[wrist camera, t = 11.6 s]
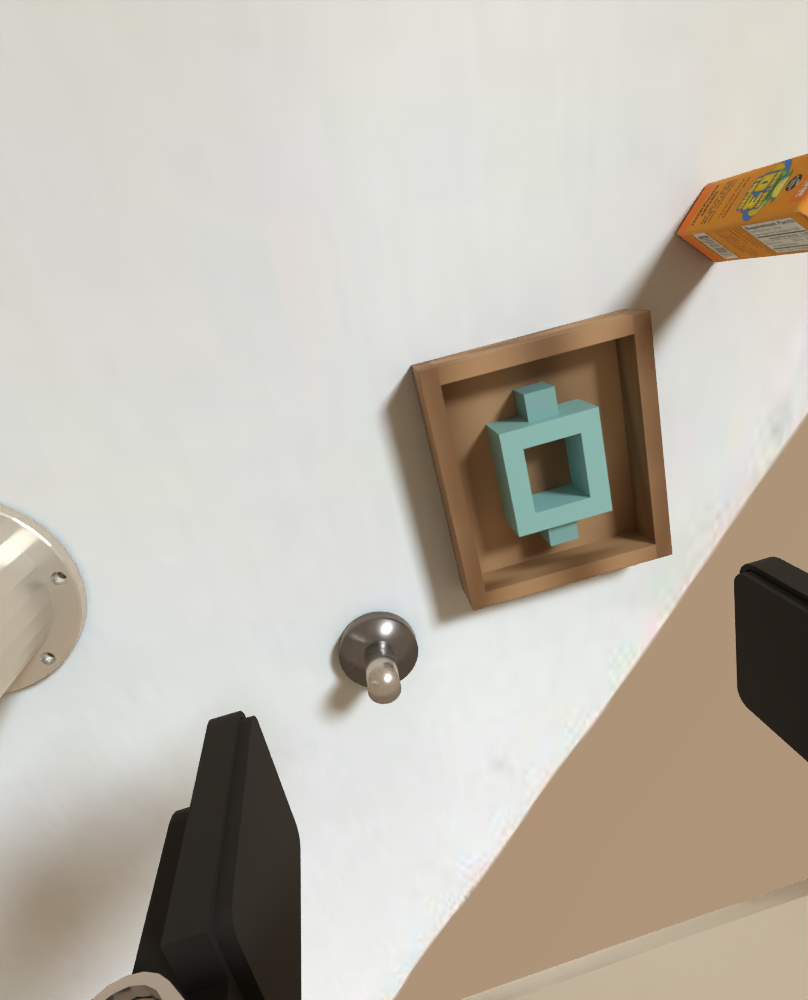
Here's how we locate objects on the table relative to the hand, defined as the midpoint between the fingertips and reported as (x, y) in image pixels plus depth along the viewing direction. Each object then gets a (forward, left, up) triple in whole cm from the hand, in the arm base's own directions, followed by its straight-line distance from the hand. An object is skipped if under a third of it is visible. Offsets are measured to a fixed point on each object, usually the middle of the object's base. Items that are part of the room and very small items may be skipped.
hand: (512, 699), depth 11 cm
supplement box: (+21, +6, -26) cm, 34 cm away
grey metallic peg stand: (-4, -15, -26) cm, 30 cm away
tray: (+9, -5, -26) cm, 28 cm away
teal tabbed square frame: (+9, -5, -25) cm, 27 cm away
